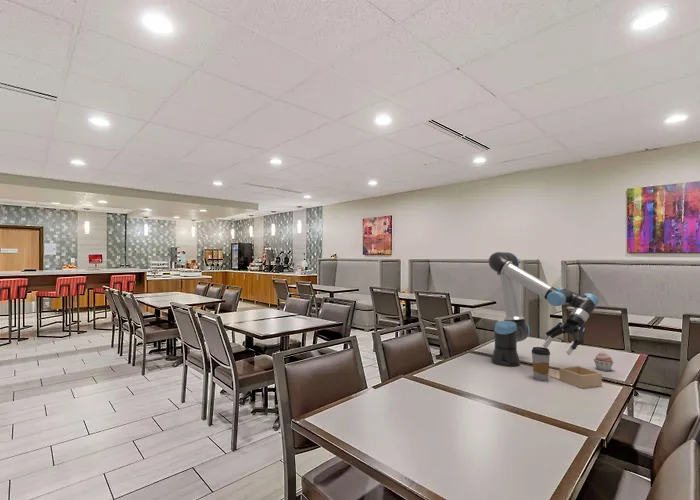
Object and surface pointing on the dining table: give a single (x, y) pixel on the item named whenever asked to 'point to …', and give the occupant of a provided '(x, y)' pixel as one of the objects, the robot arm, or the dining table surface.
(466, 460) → the dining table surface
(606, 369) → the cupcake
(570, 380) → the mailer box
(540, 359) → the coffee cup
